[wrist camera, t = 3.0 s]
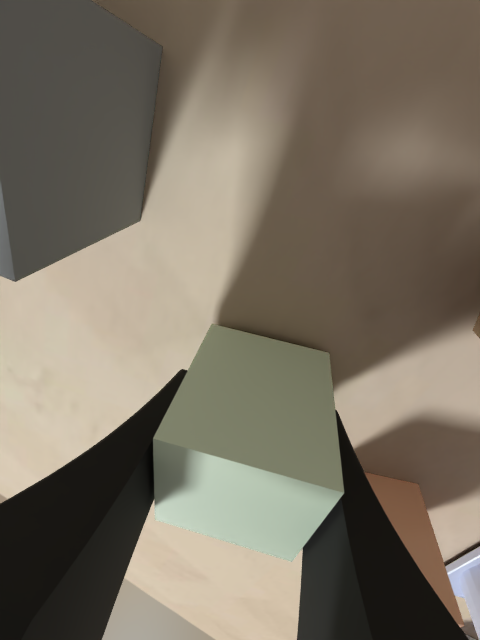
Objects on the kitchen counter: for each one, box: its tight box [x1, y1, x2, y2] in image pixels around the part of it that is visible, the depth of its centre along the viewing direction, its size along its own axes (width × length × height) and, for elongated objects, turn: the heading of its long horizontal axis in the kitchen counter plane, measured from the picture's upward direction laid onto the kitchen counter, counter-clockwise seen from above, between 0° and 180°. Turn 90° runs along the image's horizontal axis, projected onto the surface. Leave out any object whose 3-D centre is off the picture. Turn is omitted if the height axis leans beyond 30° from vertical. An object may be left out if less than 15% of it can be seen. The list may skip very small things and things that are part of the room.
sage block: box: [153, 324, 344, 562], centre depth 10 cm, size 4×4×5 cm
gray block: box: [0, 0, 163, 282], centre depth 6 cm, size 4×4×5 cm
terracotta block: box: [364, 472, 464, 628], centre depth 14 cm, size 4×4×5 cm
